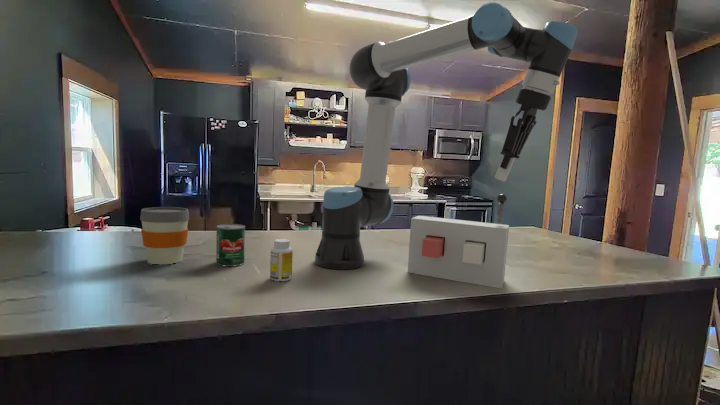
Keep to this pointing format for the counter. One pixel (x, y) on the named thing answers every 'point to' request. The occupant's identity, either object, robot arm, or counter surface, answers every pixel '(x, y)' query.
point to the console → (459, 250)
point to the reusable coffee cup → (164, 233)
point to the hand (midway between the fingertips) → (499, 179)
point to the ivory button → (473, 252)
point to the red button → (433, 247)
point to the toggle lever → (500, 207)
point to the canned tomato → (230, 244)
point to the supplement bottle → (281, 260)
